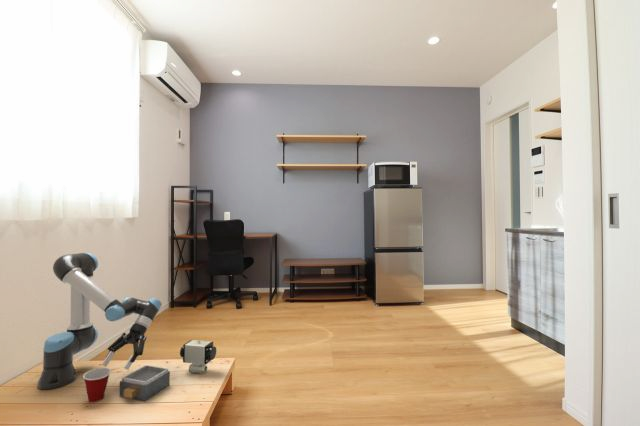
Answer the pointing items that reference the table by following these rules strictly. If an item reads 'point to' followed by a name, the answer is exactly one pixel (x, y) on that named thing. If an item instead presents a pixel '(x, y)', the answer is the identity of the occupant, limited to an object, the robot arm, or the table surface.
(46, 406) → the table surface
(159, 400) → the table surface
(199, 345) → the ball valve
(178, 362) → the table surface
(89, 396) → the plastic cup
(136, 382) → the square tray with tab
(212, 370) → the table surface
